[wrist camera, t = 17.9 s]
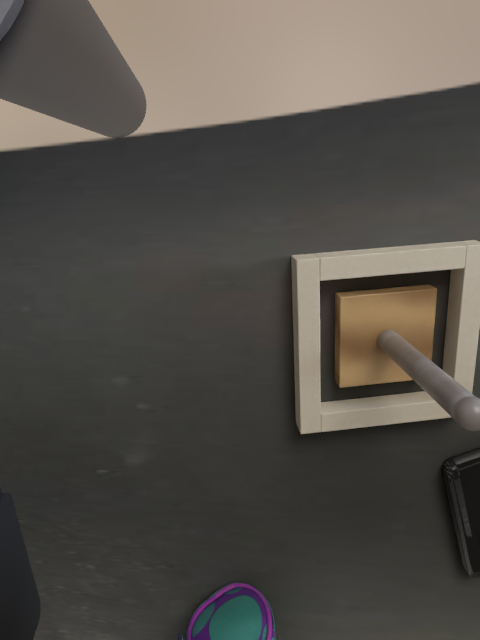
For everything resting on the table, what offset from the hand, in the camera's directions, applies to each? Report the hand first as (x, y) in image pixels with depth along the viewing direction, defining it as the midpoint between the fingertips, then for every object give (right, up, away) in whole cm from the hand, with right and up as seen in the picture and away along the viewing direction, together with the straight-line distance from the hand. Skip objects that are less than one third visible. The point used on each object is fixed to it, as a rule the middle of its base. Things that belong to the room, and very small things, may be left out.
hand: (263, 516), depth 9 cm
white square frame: (+12, +2, +30) cm, 33 cm away
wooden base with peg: (+12, +3, +30) cm, 33 cm away
